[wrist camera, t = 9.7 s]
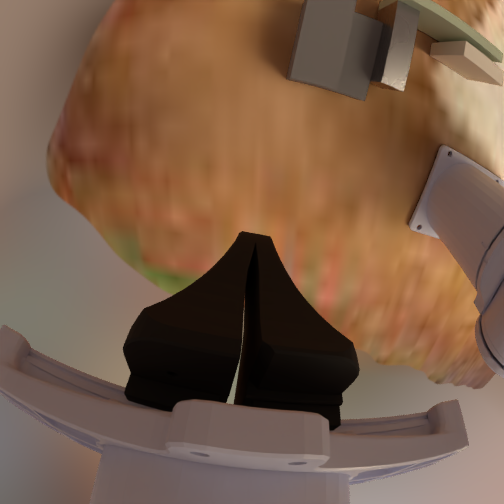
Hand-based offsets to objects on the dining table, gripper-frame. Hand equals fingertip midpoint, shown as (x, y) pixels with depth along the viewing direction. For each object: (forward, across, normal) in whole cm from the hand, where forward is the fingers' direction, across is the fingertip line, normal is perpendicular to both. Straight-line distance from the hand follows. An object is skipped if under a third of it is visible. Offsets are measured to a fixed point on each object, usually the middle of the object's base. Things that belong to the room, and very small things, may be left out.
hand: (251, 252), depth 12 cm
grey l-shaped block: (+9, -9, -12) cm, 18 cm away
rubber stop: (+10, -3, -11) cm, 15 cm away
